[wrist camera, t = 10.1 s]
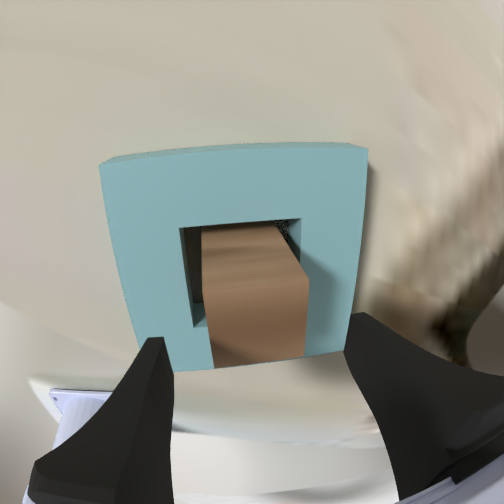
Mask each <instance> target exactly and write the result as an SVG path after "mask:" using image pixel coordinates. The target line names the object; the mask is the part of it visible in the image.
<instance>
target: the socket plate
mask: <svg viewBox="0 0 504 504" xmlns="http://www.w3.org/2000/svg"><path fill="white" fill-rule="evenodd" d="M367 165H368V149H367V148H363V147H360V146H356V145H352V144H349V143H256V144H235V145H219V146H205V147H193V148H183V149H173V150H164V151H155V152H147V153H139V154H132V155H125V156H118V157H113V158H111V159H109V160H107V161H105V162H103V163H101V164H99V171H100V178H101V185H102V191H103V198H104V204H105V210H106V215H107V221H108V226H109V231H110V236H111V241H112V246H113V251H114V255H115V260H116V264H117V268H118V273H119V277H120V281H121V285H122V289H123V293H124V297H125V300H126V304H127V308H128V311H129V315H130V318H131V322H132V325H133V328H134V332H135V335H136V338H137V342H138V345H139V348H140V349H141V348H142V346H143V344H144V342H145V340H146V339H147V338H148V337H164V340H165V344H166V348H167V352H168V355H169V359H170V363H171V367H172V370H173V372H180V371H195V370H208V369H214V364H213V358H212V352H211V346H210V340H209V333H208V327H207V320H206V313H205V307H204V303H194V302H193V295H192V289H191V282H190V274H189V267H188V259H187V252H186V244H185V235H184V227H194V226H205V225H216V224H228V223H241V222H253V221H267V220H281V219H289V234H288V246H289V248H290V249H291V251H292V252H293V254H294V256H295V257H296V259H297V260H298V262H299V264H300V265H301V267H302V269H303V270H304V272H305V273H306V275H307V277H308V278H309V296H308V311H307V325H306V338H305V349H304V357H309V356H315V355H321V354H326V353H332V352H337V351H342V350H344V346H345V341H346V336H347V330H348V325H349V319H350V314H351V309H352V303H353V297H354V291H355V284H356V277H357V270H358V262H359V255H360V246H361V238H362V228H363V219H364V208H365V196H366V182H367ZM298 358H303V357H298ZM292 359H297V358H292ZM285 360H291V359H285ZM279 361H284V360H279ZM272 362H277V361H272ZM265 363H270V362H265ZM258 364H263V363H258ZM251 365H255V364H251ZM243 366H247V365H243ZM234 367H238V366H234ZM225 368H229V367H225ZM216 369H219V368H216Z"/></svg>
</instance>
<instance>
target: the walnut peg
mask: <svg viewBox="0 0 504 504" xmlns="http://www.w3.org/2000/svg"><path fill="white" fill-rule="evenodd" d="M201 240H202V292H203V300H204V307H205V313H206V320H207V327H208V333H209V340H210V346H211V352H212V358H213V364H214V369H216V368H225V367H234V366H243V365H251V364H258V363H265V362H272V361H279V360H285V359H292V358H298V357H304V349H305V338H306V325H307V311H308V296H309V278H308V277H307V275H306V273H305V272H304V270H303V269H302V267H301V265H300V264H299V262H298V260H297V259H296V257H295V256H294V254H293V252H292V251H291V249H290V248H289V246H288V244H287V243H286V241H285V240H284V238H283V236H282V235H281V233H280V232H279V230H278V229H277V227H276V225H275V224H274V222H273V221H272V220H267V221H253V222H241V223H228V224H216V225H205V226H201Z"/></svg>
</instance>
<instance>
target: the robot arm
mask: <svg viewBox="0 0 504 504" xmlns="http://www.w3.org/2000/svg"><path fill="white" fill-rule="evenodd" d="M343 353H344V356H345V358H346V361H347V364H348V367H349V369H350V372H351V374H352V376H353V378H354V380H355V381H356V383H357V385H358V387H359V389H360V391H361V392H362V394H363V396H364V398H365V400H366V402H367V403H368V405H369V407H370V409H371V411H372V413H373V415H374V417H375V419H376V421H377V424H378V426H379V429H380V432H381V434H382V437H383V440H384V443H385V446H386V449H387V451H388V455H389V458H390V461H391V465H392V469H393V472H394V476H395V481H396V485H397V490H398V495H399V502H397V503H394V504H504V376H497V375H492V374H487V373H483V372H478V371H475V370H472V369H468V368H465V367H462V366H460V365H457V364H454V363H451V362H449V361H446V360H444V359H442V358H440V357H438V356H436V355H433V354H431V353H429V352H427V351H426V350H424V349H422V348H420V347H418V346H417V345H415V344H413V343H411V342H410V341H408V340H407V339H405V338H403V337H402V336H400V335H399V334H397V333H396V332H394V331H392V330H391V329H389V328H388V327H386V326H385V325H383V324H382V323H380V322H379V321H377V320H376V319H374V318H373V317H371V316H370V315H368V314H366V313H365V312H361V313H355V314H350V319H349V325H348V330H347V336H346V341H345V346H344V351H343ZM49 396H50V397H51V399H52V400H53V402H54V403H55V405H56V406H57V408H58V409H59V411H60V412H61V414H62V417H61V420H60V424H59V427H58V431H57V435H56V438H55V442H54V446H53V450H52V451H50V452H49V453H47V454H46V455H44V456H43V457H41V458H40V459H38V460H36V461H35V463H34V466H33V469H32V473H31V477H30V482H29V485H28V486H27V489H26V492H25V495H24V498H23V502H22V504H174V498H173V488H172V478H171V461H170V441H171V430H172V418H173V407H174V374H173V370H172V367H171V363H170V359H169V355H168V352H167V348H166V344H165V340H164V337H148V338H147V339H146V340H145V342H144V344H143V346H142V348H141V349H140V351H139V353H138V354H137V356H136V358H135V359H134V361H133V363H132V364H131V366H130V368H129V369H128V371H127V372H126V374H125V375H124V377H123V378H122V380H121V381H120V383H119V384H118V385H117V387H116V388H115V390H114V391H113V392H98V391H74V390H59V389H50V390H49Z"/></svg>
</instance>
